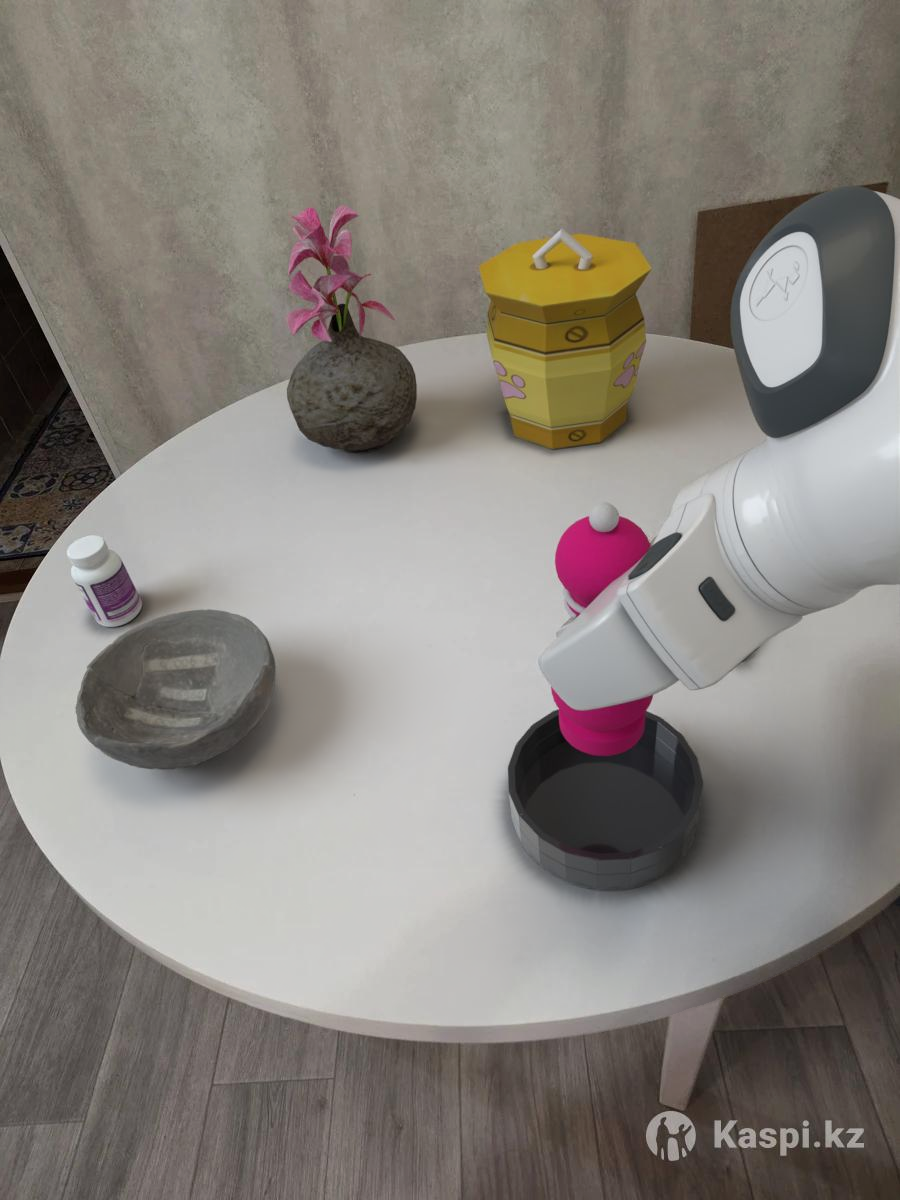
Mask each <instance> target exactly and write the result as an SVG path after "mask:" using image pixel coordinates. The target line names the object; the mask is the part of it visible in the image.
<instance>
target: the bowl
mask: <svg viewBox="0 0 900 1200" xmlns="http://www.w3.org/2000/svg"><path fill="white" fill-rule="evenodd" d="M275 680H276V660H275V655H274V653H273V649H272V647H271V644H270V642H269V639H268V637H266V635H265V634H264V633H263V631H262V630H261V629H260V628H259V626H257V625H256V624H255V623H254V622H253V621H252V620H250V619H249V618H247V617H246V616H242V615H240V614H237V613H236V614H235V613H232V612H229V611H225V610H219V609H211V608H209V609H192V610H185V611H180V612H173V613H169V614H165V615H162V616H160V617H155V618H153V619H151V620H148V621H145V622H144V623H141V624H139V625H138V626H136V627H133V628H131V629H129V630H127V631H125V632H124V633H123V634H121V635H119V636H118V637H116V639H115V640H113V642H111V643H110V644H108V645H107V646H106V647H105V648H104V649H103V650H101V651H100V652H98V654H97V655H96V656H95V657H94V658H93V659H92V661H90V662H89V664H87V666H86V671H85V673H84V675H83V676H82V680H81V684H80V689H79V691H78V694H77V697H76V704H75V707H74V709H75V714H76V720H77V721H76V722H77V725H78V728H79V729H80V732H81V733H82V735H83V736H84V737H85V739H87V741H88V742H89V743H90V744H92V746H94V747H95V748H97V749H98V750H99V751H100V752H101V753H102V754H104V755H105V756H107V757H108V758H110V759H113V760H115V761H118V762H120V763H123V764H126V765H129V766H131V767H132V766H133V767H136V768H138V769H139V768H140V769H146V770H161V771H171V770H179V769H185V768H189V767H193V766H196V765H198V764H200V763H203V762H206V761H208V760H210V759H212V758H214V757H216V756H219V755H221V754H223V753H225V752H227V751H228V750H229V749H231V748H232V747H234V746H235V745H236V744H237V743H238V742H240V741H241V740H242V739H243V738H244V737H245V736H246V735H247V734H248V733H249V732H250V731H251V730H252V729H253V728H254V727H255V726H256V725H257V723H258V722H259V721H260V719H262V717H263V715H264V714H265V713H266V711H267V709H268V707H269V705H270V701H271V699H272V697H273V692H274V688H275V687H274V686H275Z"/></svg>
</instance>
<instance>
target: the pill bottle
mask: <svg viewBox="0 0 900 1200" xmlns="http://www.w3.org/2000/svg"><path fill="white" fill-rule="evenodd" d="M66 555H67V558H68V559H69V561H70V563H71V568H70V575H71V578H72V580H73V582H74V584H75V585H76V587H77V589H78V591H79V593H80V595H81V597H82V598H83V600H84V602H85V604H86V606H87V608H88V609H89V611H90V613H91V614H92V616H93V618H94V619H95V622H97V623H98V624H99V625H101V626H103V627H107V628H115V627H120V626H123V625H125V624H128V623H129V622H131V621H132V620H133V619H135V618H136V617H137V616H138V615H139V613H140V612H141V610H142V607H143V602H142V599H141V596H140V595H139V593H138V590H137V589H136V587H135V584H134V582H133V580H132V578H131V576H130V574H129V572H128V570H127V568H126V566H125V564H124V562H123V560H122V558H121V556H120V555H119V554H118V552H116V551H114V550H112V549H110V548H109V546H108V544H107V542H106V540H105V539H104V538H103V537H102V536H100V535H97V534H96V535H95V534H92V535H91V534H90V535H86V536H83V537H80V538H78V539H76V540H74V541H73V542H72V543H71V544H70V545H69V546H68V548H67V549H66Z"/></svg>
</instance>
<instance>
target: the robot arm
mask: <svg viewBox="0 0 900 1200" xmlns="http://www.w3.org/2000/svg"><path fill="white" fill-rule="evenodd" d="M729 317H730V318H729V321H730V322H729V323H730V324H729V326H730V335H731V341H732V346H733V351H734V354H735V359H736V363H737V367H738V370H739V374H740V377H741V382H742V386H743V388H744V392H745V394H746V398H747V401H748V404H749V407H750V410H751V412H752V415H753V417H754V420H755V421H756V423H757V426H758V427H759V429H760V430H761V431H762V432H763V433H764V435H765V439H764V440H763V441H762V442H760V443H758V444H757V445H755V446H753V447H751V448H750V449H747V450H746V451H744V452H742V453H740V454H738V455H737V456H734V457H732V458H731V459H729V460H727V461H725V462H724V463H721V464H719V465H717V466H716V467H714V468H712V469H710V470H708V471H707V472H705V473H703V474H701V475H699V476H698V477H696V478H694V479H692V480H691V481H689V482H688V483H686V484H685V485H684V486H683V487H682V488H681V490H680V491H679V493H678V494H677V496H676V498H675V499H674V502H673V504H672V507H671V509H670V510H671V511H670V515H668V517H667V518H666V520H665V521H664V523H663V525H662V527H661V529H660V530H659V532H658V534H656V536H654V538H653V539H652V540H651V541H649V542H650V548H649V550H648V551H647V553H646V554H645V555H644V556H643V557H642V558H641V559H640V560H639V561H638V562H637V563H636V564H635V565H634V566H632V567H631V568H630V569H629V570H628V571H626V572H625V573H624V574H623V575H621V576H620V577H619V578H617V579H616V580H614V581H613V582H612V583H611V584H609V585H608V586H607V587H606V588H605V589H604V590H603V591H602V592H601V593H600V594H599V595H598V596H597V597H596V598H595V599H594V600H593V601H592V603H591V604H590V605H589V606H588V607H587V608H586V609H585V610H584V611H583V612H582V613H581V614H579V615H576V616H575V617H569V618H568V619H567V620H566V621H565V622H564V623H563V624H562V625H561V626H560V627H559V628H558V629H557V630H556V632H555V636H556V638H555V639H554V640H553V642H551V643H550V644H549V645H548V646H547V647H546V648H545V650H543V651H542V652H541V654H540V655H539V657H538V660H537V663H538V667H539V670H540V672H541V673H542V675H543V676H544V678H545V680H546V681H547V683H548V684H549V685H550V688H551V687H552V688H553V689H554V690H555V692H556V693H557V694H558V695H559V696H560V698H561V699H562V700H563V701H564V702H565V703H566V704H567V705H568V706H570V707H571V708H573V709H575V710H580V711H586V710H593V709H599V708H604V707H609V706H613V705H618V704H622V703H626V702H630V701H634V700H638V699H642V698H645V697H648V696H651V695H653V696H654V695H656V694H658V693H660V692H663V691H665V690H666V689H668V688H670V687H672V686H673V685H674V684H676V683H677V682H679V681H680V682H681V684H683V685H684V687H685V688H687V690H689V691H699V690H703V689H707V688H710V687H712V686H715V685H716V684H717V683H719V682H721V681H722V680H723V679H724V678H725V677H726V676H727V675H728V674H729V673H731V672H732V671H733V670H734V669H735V668H737V667H738V666H740V664H742V661H743V660H744V661H745V660H746V659H747V658H748V657H750V656H751V655H752V654H753V653H755V651H757V650H758V649H759V648H760V647H762V645H764V644H765V643H767V642H768V641H769V640H771V639H772V638H774V637H776V636H777V635H779V634H781V633H782V632H784V631H786V630H788V629H790V628H792V627H794V626H795V625H797V624H799V623H800V622H801V621H802V620H803V617H804V616H808V615H811V614H814V613H818V612H820V611H823V610H827V609H831V608H834V607H837V606H838V605H841V604H844V603H845V602H847V601H848V600H849V601H850V600H851V599H852V598H853V597H855V596H856V595H857V594H859V593H860V592H861V591H864V590H865V589H867V588H870V587H874V586H882V585H883V586H893V585H894V586H897V585H900V198H897V197H895V196H893V195H890V194H887V193H884V192H880V191H875V190H872V189H870V188H867V187H864V186H859V185H844V186H840V187H835V188H832V189H829V190H827V191H825V192H822V193H820V194H817V195H815V196H813V197H812V198H811V197H810V199H808V200H806V201H804V202H802V203H801V204H800V205H798V206H797V207H795V208H793V210H791V211H790V212H788V213H787V214H785V216H784V217H783V218H782V219H781V220H780V221H778V222H777V223H776V224H775V225H774V226H773V227H772V228H771V229H770V231H768V233H767V234H766V235H765V236H764V237H763V238H762V240H761V241H760V242H759V243H758V245H756V248H755V249H754V250H753V252H752V253H751V255H750V256H749V258H748V260H747V261H746V263H745V265H744V267H743V268H742V270H741V273H740V274H739V276H738V279H737V281H736V284H735V287H734V290H733V292H732V297H731V304H730V313H729ZM744 661H743V662H744Z"/></svg>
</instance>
